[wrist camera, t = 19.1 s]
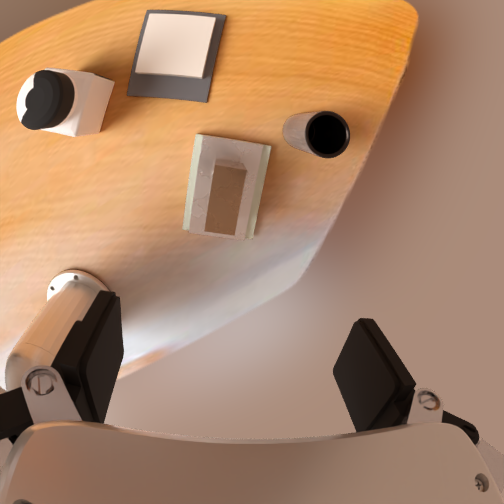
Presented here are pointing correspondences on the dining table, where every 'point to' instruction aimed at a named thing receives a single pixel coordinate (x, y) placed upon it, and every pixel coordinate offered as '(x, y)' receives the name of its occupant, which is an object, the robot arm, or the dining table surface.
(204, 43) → the tile
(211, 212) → the float
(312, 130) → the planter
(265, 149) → the board
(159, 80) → the mat
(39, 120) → the medicine bottle
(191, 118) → the dining table surface
